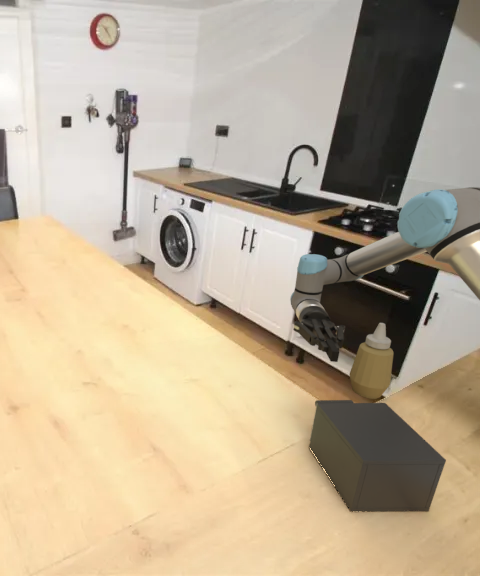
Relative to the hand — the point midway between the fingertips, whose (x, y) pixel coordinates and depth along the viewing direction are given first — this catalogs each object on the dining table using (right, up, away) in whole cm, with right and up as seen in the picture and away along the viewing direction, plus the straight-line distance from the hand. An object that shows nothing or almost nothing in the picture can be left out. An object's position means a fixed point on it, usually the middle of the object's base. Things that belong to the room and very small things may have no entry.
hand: (334, 356), depth 98 cm
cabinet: (-9, -18, -24) cm, 31 cm away
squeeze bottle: (+7, -9, 0) cm, 11 cm away
